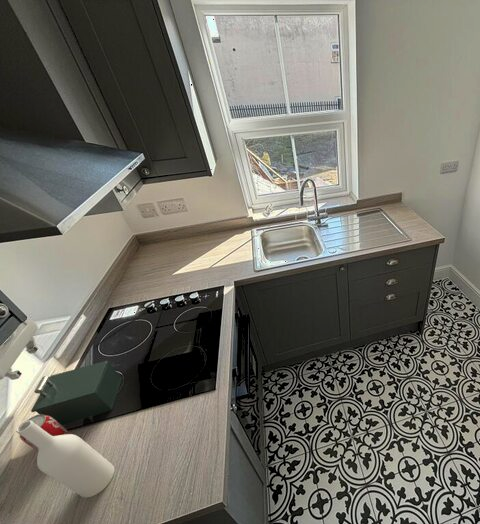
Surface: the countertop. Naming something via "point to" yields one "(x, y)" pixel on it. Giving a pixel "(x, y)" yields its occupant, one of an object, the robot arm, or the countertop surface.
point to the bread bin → (88, 401)
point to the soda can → (46, 428)
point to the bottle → (69, 460)
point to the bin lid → (69, 386)
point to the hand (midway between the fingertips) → (26, 363)
